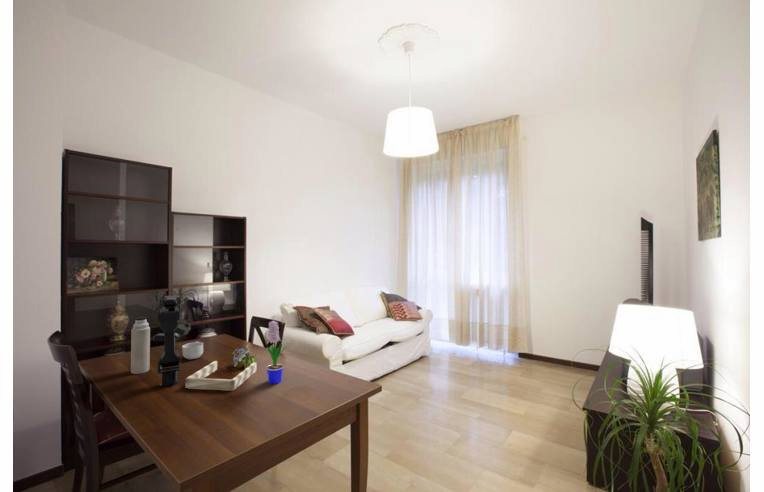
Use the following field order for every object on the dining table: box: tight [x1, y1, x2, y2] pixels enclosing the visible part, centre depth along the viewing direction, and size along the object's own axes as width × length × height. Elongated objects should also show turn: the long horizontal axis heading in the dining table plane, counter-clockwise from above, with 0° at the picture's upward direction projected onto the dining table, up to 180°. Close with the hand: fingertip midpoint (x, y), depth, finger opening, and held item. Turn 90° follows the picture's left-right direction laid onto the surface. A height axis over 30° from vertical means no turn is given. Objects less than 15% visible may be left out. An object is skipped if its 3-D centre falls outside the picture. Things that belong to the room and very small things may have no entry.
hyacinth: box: [265, 320, 286, 385], centre depth 167 cm, size 9×10×30 cm
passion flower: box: [231, 344, 259, 370], centre depth 188 cm, size 13×12×14 cm
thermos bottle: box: [130, 316, 151, 375], centre depth 177 cm, size 8×8×28 cm
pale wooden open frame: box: [184, 360, 258, 392], centre depth 169 cm, size 24×23×4 cm
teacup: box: [181, 340, 204, 360], centre depth 201 cm, size 14×11×8 cm
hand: (171, 350), depth 174 cm, fingers closed
